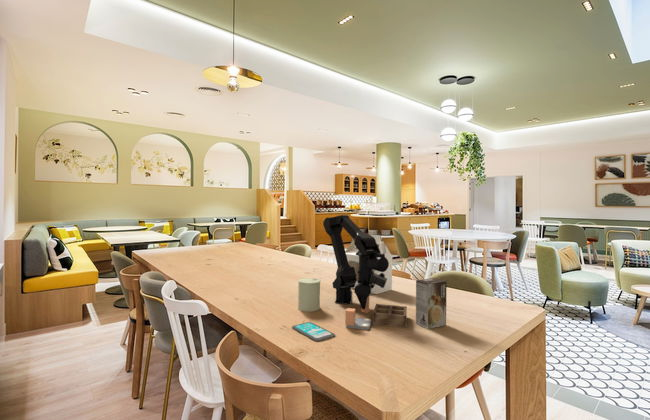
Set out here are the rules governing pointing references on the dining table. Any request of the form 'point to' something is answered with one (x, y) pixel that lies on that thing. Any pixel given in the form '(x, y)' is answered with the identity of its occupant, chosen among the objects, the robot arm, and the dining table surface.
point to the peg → (366, 306)
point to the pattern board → (356, 320)
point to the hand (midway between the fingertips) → (365, 305)
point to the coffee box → (431, 303)
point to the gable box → (354, 262)
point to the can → (309, 294)
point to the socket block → (390, 315)
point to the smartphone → (313, 331)
